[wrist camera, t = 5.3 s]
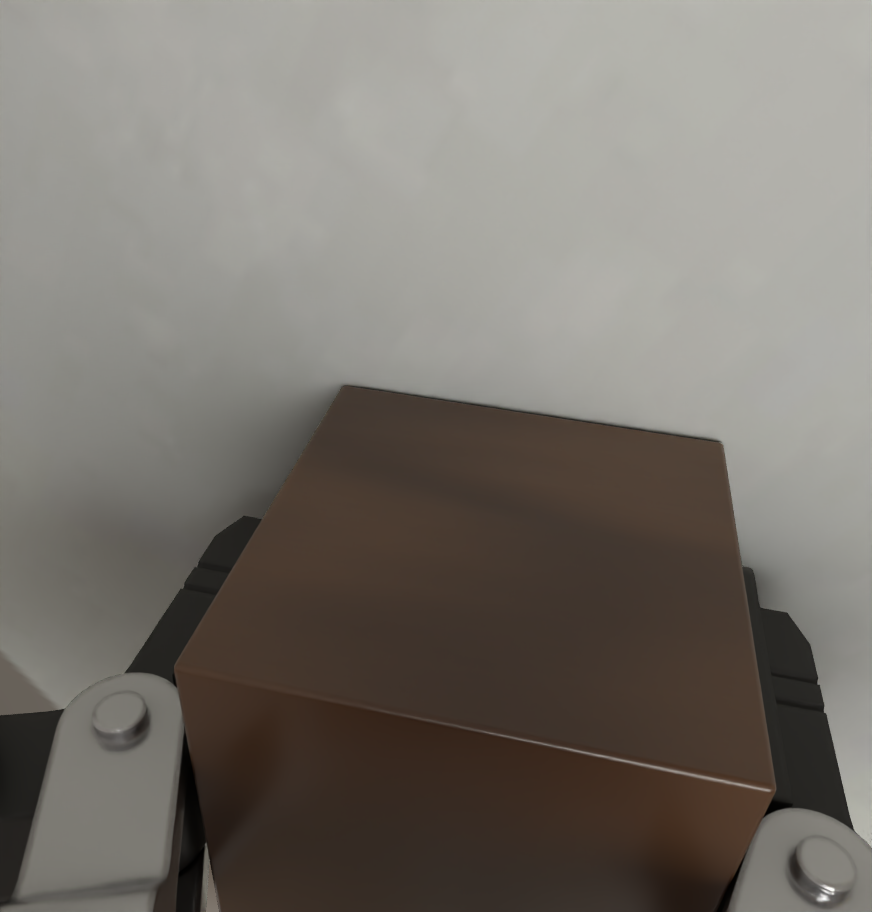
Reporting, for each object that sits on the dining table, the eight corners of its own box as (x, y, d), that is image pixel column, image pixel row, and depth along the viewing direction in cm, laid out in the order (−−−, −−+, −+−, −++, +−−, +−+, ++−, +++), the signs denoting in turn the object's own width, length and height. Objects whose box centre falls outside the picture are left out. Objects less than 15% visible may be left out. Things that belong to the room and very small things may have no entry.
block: (344, 641, 14) (223, 948, 10) (341, 382, 11) (170, 666, 7) (645, 699, 13) (648, 1054, 9) (724, 440, 10) (780, 791, 6)
